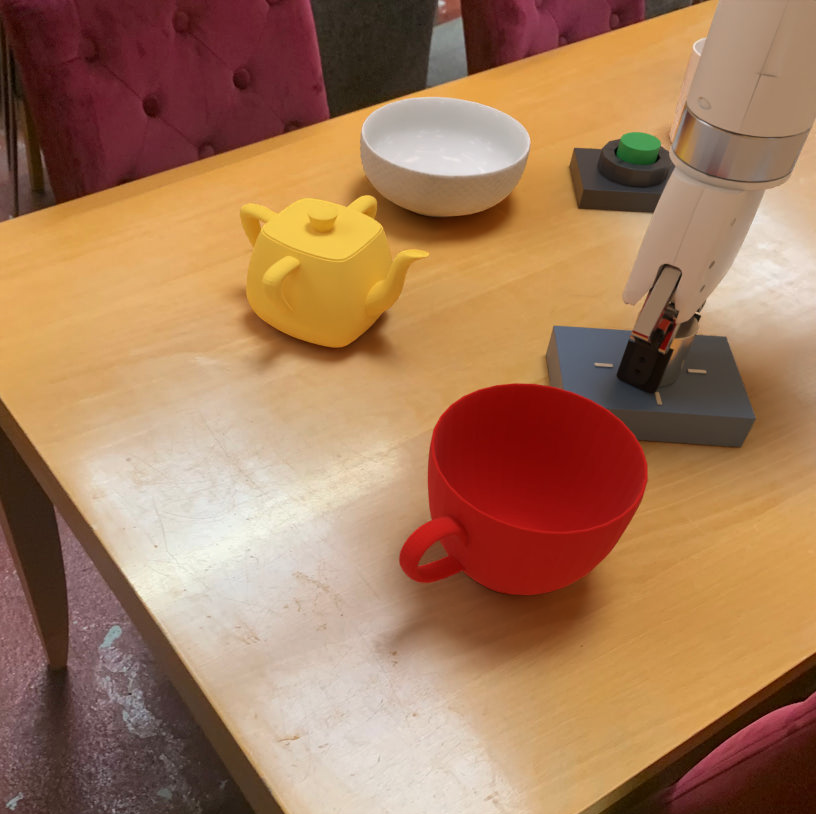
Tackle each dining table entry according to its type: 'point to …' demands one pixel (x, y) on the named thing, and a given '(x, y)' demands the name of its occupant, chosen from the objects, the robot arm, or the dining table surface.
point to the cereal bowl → (443, 155)
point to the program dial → (678, 347)
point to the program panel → (670, 405)
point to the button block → (618, 180)
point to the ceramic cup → (526, 489)
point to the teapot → (322, 268)
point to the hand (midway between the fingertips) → (650, 365)
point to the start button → (638, 148)
